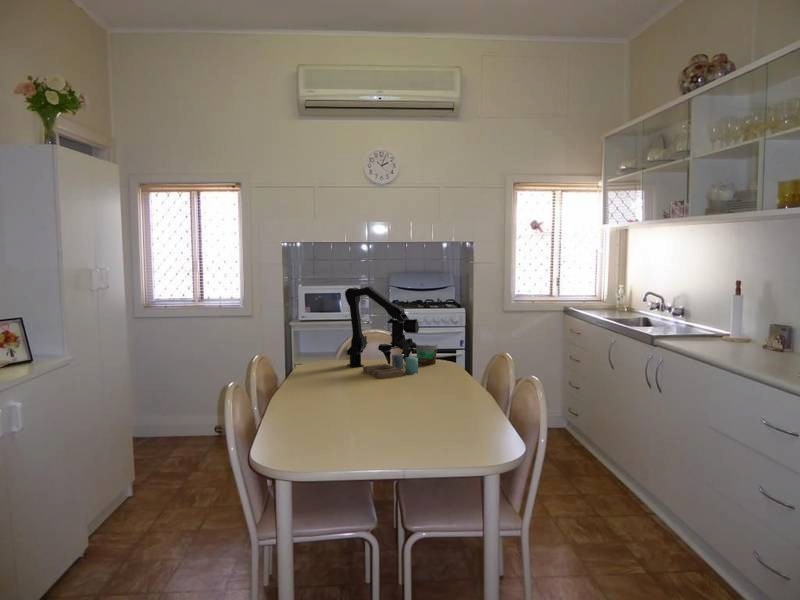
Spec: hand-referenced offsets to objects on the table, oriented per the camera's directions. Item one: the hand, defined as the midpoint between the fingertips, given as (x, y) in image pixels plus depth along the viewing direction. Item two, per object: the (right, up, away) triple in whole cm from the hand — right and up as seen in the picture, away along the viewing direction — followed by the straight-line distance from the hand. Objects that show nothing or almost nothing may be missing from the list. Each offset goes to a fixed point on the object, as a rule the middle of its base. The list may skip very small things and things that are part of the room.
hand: (397, 363), depth 278 cm
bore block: (-7, -4, -9) cm, 12 cm away
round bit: (+7, -4, -7) cm, 11 cm away
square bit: (0, -3, 0) cm, 3 cm away
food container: (+14, -2, +12) cm, 19 cm away
